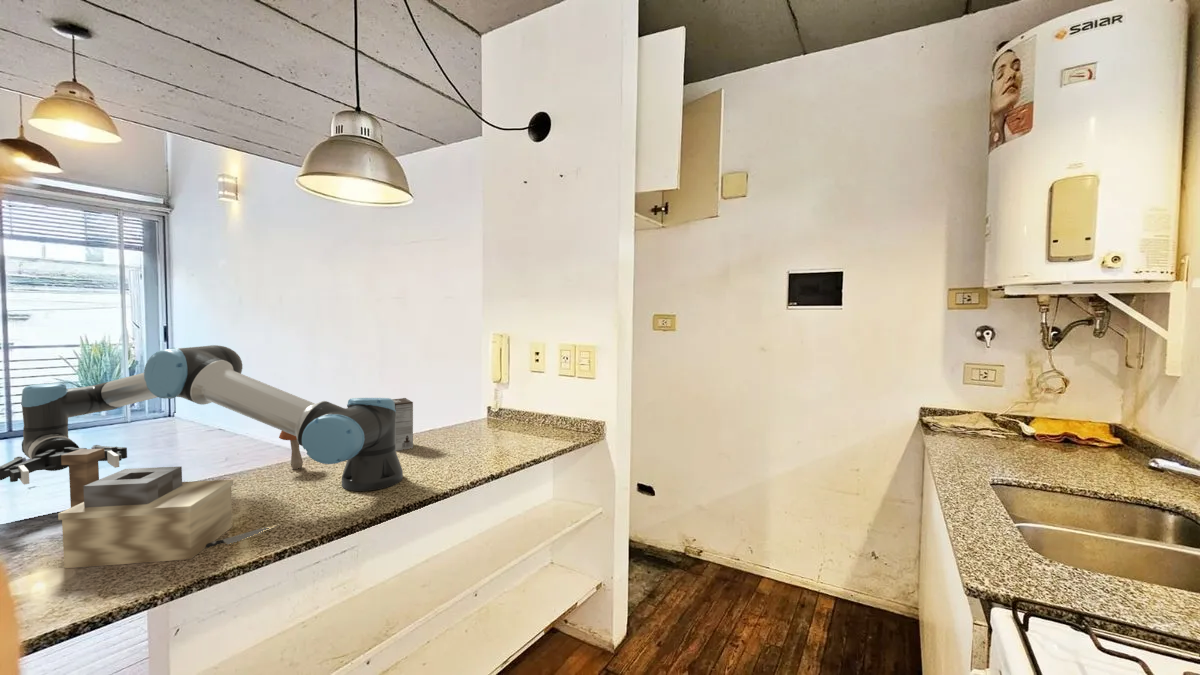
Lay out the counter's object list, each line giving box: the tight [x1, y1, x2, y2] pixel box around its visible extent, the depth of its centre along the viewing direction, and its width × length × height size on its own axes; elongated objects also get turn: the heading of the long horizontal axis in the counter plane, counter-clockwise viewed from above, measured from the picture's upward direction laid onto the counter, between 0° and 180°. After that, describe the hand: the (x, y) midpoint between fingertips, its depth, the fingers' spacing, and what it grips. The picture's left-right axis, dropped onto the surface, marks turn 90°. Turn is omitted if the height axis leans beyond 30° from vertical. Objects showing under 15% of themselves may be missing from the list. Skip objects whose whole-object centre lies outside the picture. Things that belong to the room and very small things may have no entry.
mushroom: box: [278, 430, 304, 470], centre depth 144 cm, size 8×8×15 cm
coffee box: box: [391, 397, 414, 452], centre depth 168 cm, size 9×6×16 cm
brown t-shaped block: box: [61, 448, 105, 508], centre depth 102 cm, size 4×4×17 cm
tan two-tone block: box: [57, 466, 234, 569], centre depth 96 cm, size 21×15×14 cm
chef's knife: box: [205, 526, 269, 549], centre depth 100 cm, size 19×1×3 cm
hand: (74, 469), depth 107 cm, fingers open, 13 cm apart
